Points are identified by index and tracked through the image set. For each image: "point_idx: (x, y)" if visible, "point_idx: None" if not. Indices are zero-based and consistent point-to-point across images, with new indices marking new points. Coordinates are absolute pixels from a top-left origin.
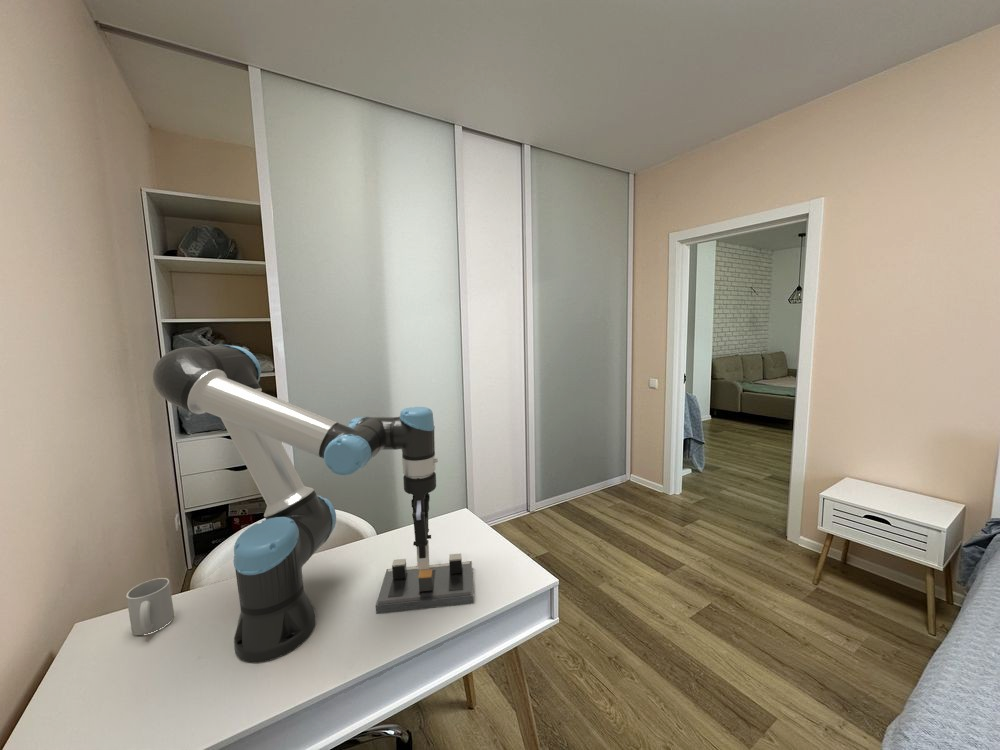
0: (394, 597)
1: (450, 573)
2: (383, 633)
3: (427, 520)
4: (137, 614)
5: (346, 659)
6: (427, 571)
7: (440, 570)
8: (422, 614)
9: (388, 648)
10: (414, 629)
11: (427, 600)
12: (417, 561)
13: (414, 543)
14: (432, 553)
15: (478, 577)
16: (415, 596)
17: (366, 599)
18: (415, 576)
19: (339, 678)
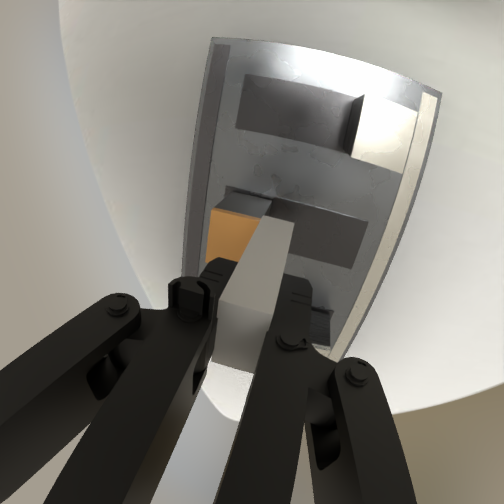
0: (235, 98)
1: None
2: (137, 79)
3: (315, 493)
4: None
5: (96, 21)
6: (239, 253)
7: (339, 283)
8: (177, 183)
9: (94, 101)
10: (130, 159)
11: (186, 210)
12: (253, 234)
13: (181, 294)
14: (475, 271)
15: None
16: (217, 173)
17: (314, 12)
18: (345, 190)
19: (65, 29)
